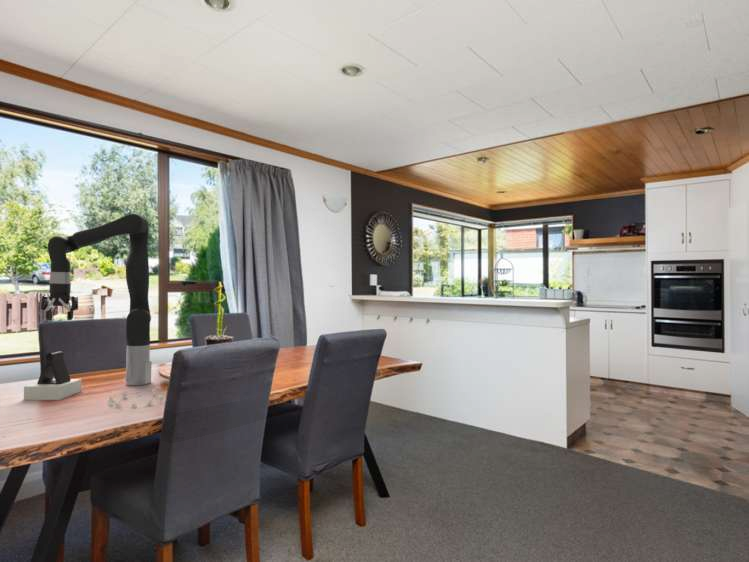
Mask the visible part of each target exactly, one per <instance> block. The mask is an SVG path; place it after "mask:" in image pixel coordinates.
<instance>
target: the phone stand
mask: <svg viewBox="0 0 749 562" xmlns="http://www.w3.org/2000/svg"><path fill="white" fill-rule="evenodd" d="M53 379H55V380H53ZM70 379H71V378H70V374H69V371H68V369H67V365H66V362H65V359H64V352H63V351H62V350H60V351H59V350H57V351H53V352H48V353H47V354H46V355H45V362H44V364H43V368H42V371H41V372H40V375H39V378H38V380H37V382H36V383H37V384H63V383H66V382H69V381H71V380H70Z"/></svg>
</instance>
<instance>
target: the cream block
mask: <svg viewBox="0 0 749 562" xmlns="http://www.w3.org/2000/svg"><path fill="white" fill-rule="evenodd" d="M53 380H55V378H53ZM70 380H71V381H69V382H66V383H63V384H37V382H33V383H30V384H27V385H24V386H23V401H26V400H27V401H29V400H30V401H60V400H62V399H64V398H65V399H66V398H68V397H70V396H72V395H73V396H74V395H75V394H78V393H80V392H82V385H83V384H82V383H83V382H82V379H81V378H70Z"/></svg>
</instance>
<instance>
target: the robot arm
mask: <svg viewBox="0 0 749 562" xmlns="http://www.w3.org/2000/svg"><path fill="white" fill-rule="evenodd" d="M122 235H129V236H128V237H129V250H128V252H127V253H128V254H127V258H126V262H125V277H126V278H125V280H126V285H127V290H128V294H129V313H128V315H126V319H125V320H126V323H125V325H126V327H125V335H126V336H125V338H126V359H125V361H126V363H125V364H126V365H125V366H126V367H125V385H126V386H145V385H147V384H149V383H152V361H151V360H150V359H151V357H150V356H151V355H150V354H151V351H150V350H151V332H150V330H151V321H152V315H151V310H150V305H149V288H150V266H149V265H150V264H149V251H148V250H149V249H148V241H149V222H148V219H147V218H145V217H144V216H142V215H140V214H137V213H129V214H126V215H123V216H122V217H119V218H116V219H114V220H112V221H110V222H106V223H104V224H100V225H98V226H94V227H90V228H86V229H83V230H79V231H75V232H74V233H73V234H72V235H69V236H60V235H55V236H52V237H51V238H50V239H49V241H48V244H47V251H48V255H49V260H50V274H49V295H42V296H41V305H40V310H42V311H45V319H46V320H47V321H52V320H53V310H54V308H56V307H64V308H65V309H66V310H67V311H66V312H67V314H66V317H67V318H66V320H67V321H72V320H73V318H74V311H77V310H79V297H78V296H77V295H74V296H71V291H72V290H71V287H72V286H71V285H72V283H71V281H72V276H71V261H70V259H69V258H67V254H70V253H72V252H76V251H78V250H79V249H82V248H86V247H89V246H93V245H95V244H96V245H97V244H99V243H101V242H104V241H106V240H108V239H110V238H113V237H116V236H122ZM49 301H50V302H49Z"/></svg>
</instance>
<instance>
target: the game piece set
mask: <svg viewBox="0 0 749 562" xmlns="http://www.w3.org/2000/svg"><path fill="white" fill-rule="evenodd" d="M151 392H152V396H153V397H155V396H156V394H157V393H156V392H157V390H156V388H152V390H151ZM120 394H121V396H122V399H120V400H119V401H118V402H117V401H115V399H114V397H116V393H114V394H113V396H111V395H110V396H109V397H108V403H106V405H107V406H108V407H110V406H115V407H116V408H122V403H121V402H122V401H123V399H126V397H127V396H128V395H127V392H126V390H122V391H121V393H120ZM143 394H144V392H141V393H139V394H138V395H137V397H142V395H143ZM157 398H158V401H157V402H158V403H162V402H163V398H164V395H163V394H162V393H161V394H160V395H158V396H157ZM114 403H115V404H114ZM145 404H146V405H148V406H151V404H153V400H152V398H151V399H149V401H147V402H146V403H145ZM130 408H131V409H136V408H137V404H136V403H135V402H131V406H130Z"/></svg>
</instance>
